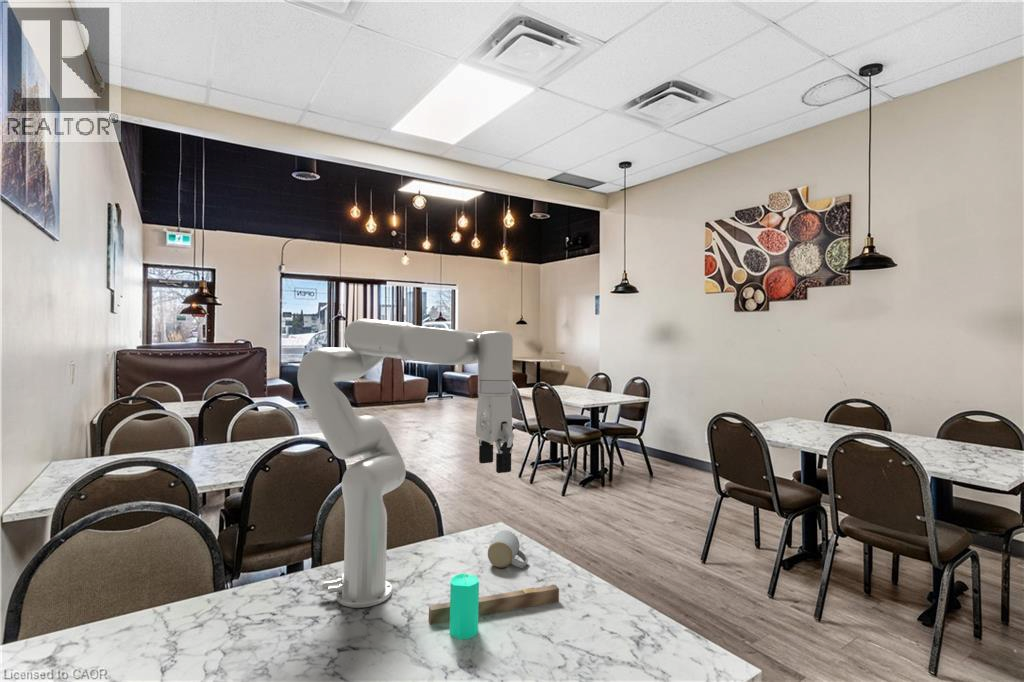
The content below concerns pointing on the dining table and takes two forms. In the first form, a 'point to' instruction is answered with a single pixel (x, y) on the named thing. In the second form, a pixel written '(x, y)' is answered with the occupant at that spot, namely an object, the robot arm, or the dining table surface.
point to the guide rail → (501, 602)
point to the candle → (464, 606)
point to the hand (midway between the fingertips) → (494, 467)
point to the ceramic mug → (505, 550)
